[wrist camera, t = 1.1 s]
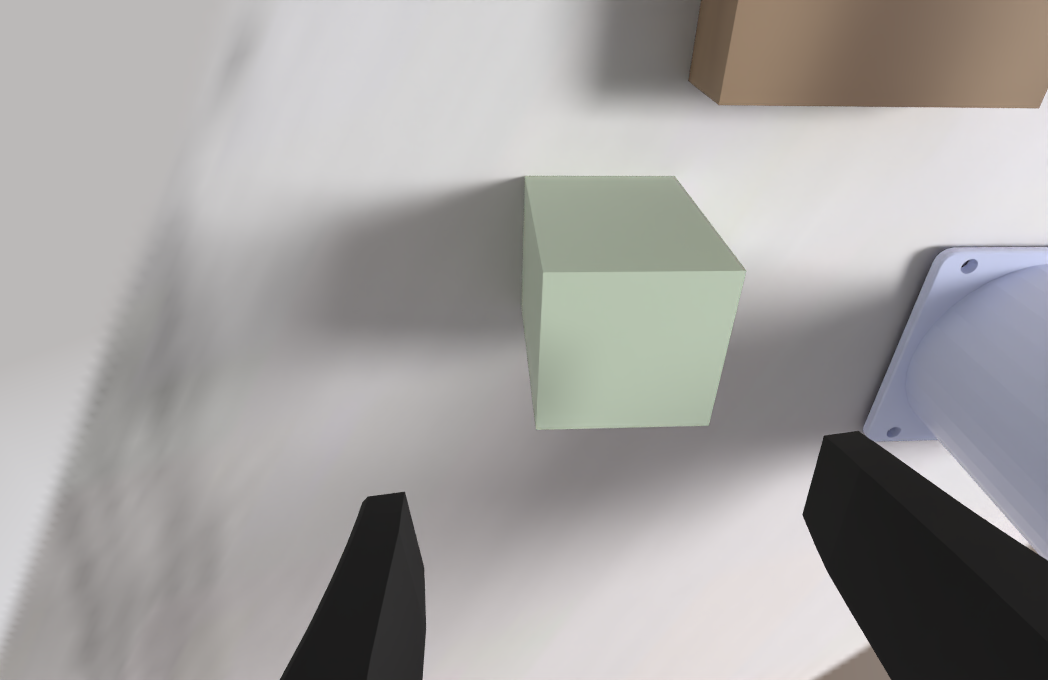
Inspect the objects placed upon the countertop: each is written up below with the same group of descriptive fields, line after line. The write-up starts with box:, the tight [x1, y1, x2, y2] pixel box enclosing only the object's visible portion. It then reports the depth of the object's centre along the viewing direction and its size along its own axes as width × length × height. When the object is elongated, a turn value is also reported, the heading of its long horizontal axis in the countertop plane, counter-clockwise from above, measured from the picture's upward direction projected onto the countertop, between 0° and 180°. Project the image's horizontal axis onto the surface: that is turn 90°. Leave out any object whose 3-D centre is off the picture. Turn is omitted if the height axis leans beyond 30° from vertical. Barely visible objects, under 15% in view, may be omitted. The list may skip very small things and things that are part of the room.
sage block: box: [521, 176, 746, 430], centre depth 17 cm, size 4×4×6 cm
